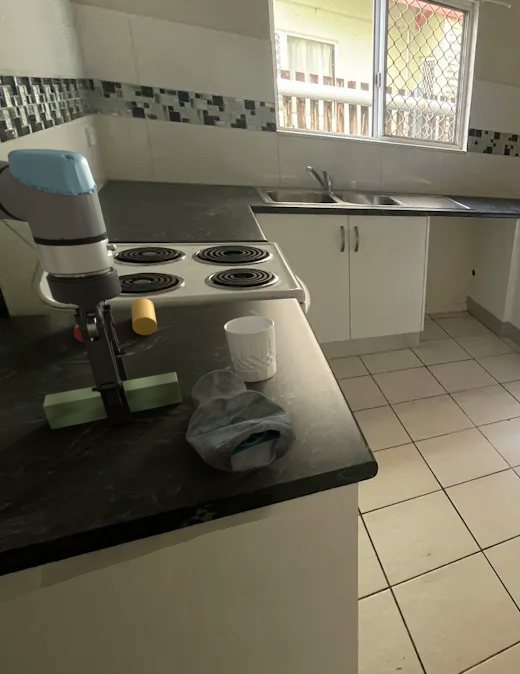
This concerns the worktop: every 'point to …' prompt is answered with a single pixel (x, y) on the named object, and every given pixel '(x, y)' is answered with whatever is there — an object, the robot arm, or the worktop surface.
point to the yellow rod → (143, 317)
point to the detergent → (237, 424)
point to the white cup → (252, 347)
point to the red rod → (77, 333)
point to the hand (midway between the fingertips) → (121, 407)
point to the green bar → (90, 405)
